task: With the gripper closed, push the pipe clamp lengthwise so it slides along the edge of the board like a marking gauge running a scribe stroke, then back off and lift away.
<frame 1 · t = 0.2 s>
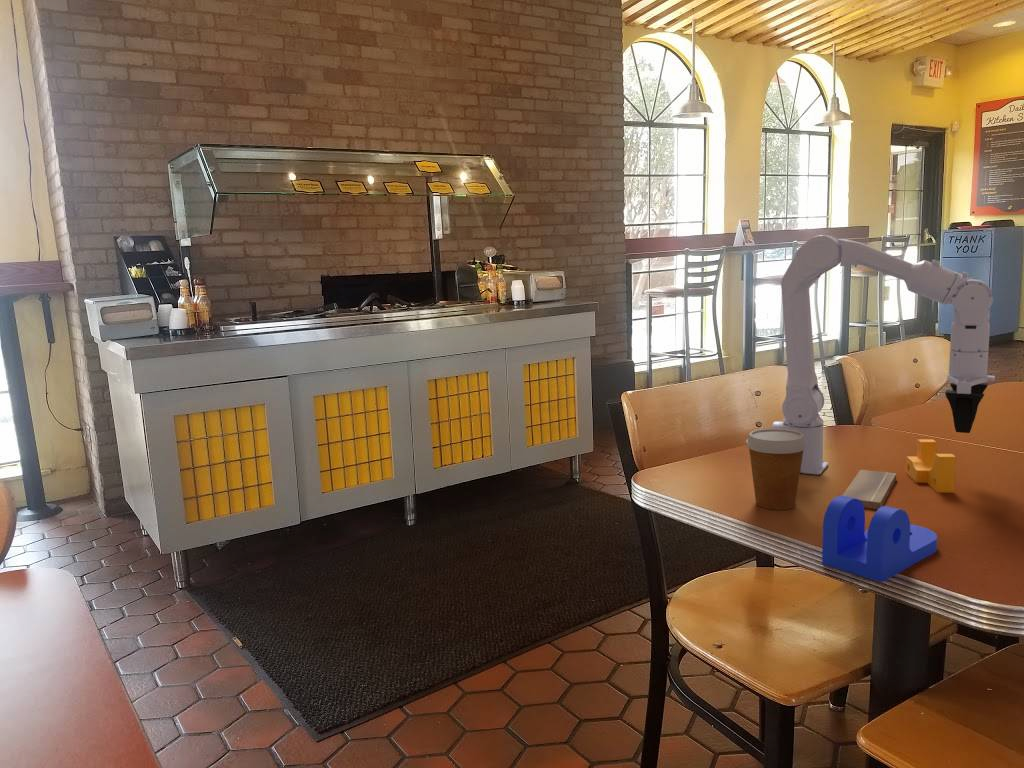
hand: (964, 427, 137), 10 cm above the table, tool pointing down, fingers open, 7 cm apart
board: (869, 491, 136), on the table
disposable coffee cup: (775, 505, 132), on the table
bracket: (885, 557, 109), on the table
pipe clamp: (928, 484, 140), on the table
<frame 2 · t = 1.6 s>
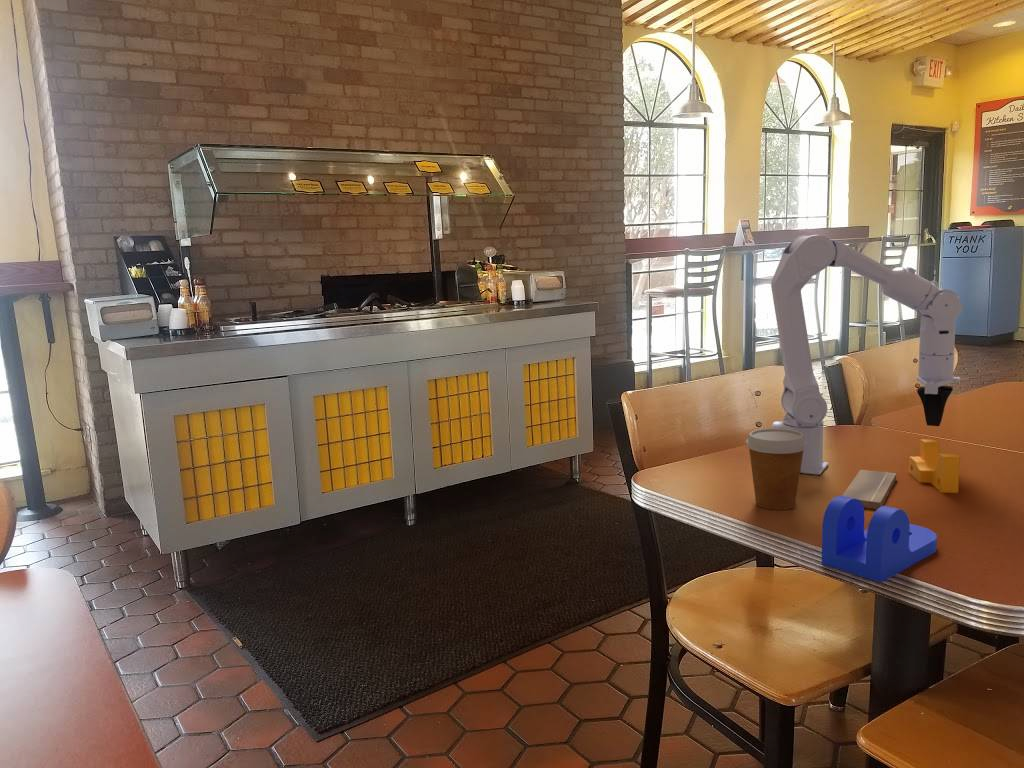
hand: (933, 425, 148), 8 cm above the table, tool pointing down, fingers closed
nothing on the table moved.
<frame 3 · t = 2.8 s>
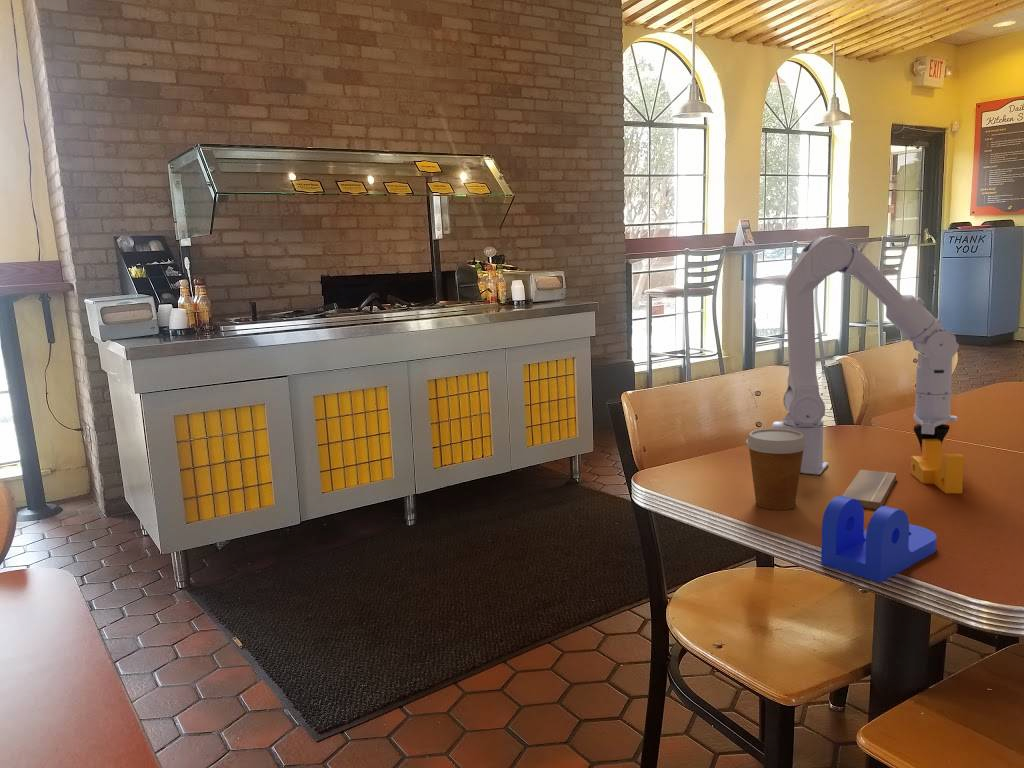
hand: (930, 463, 147), 1 cm above the table, tool pointing down, fingers closed
pipe clamp: (935, 483, 139), on the table, touching gripper
everything else where it was.
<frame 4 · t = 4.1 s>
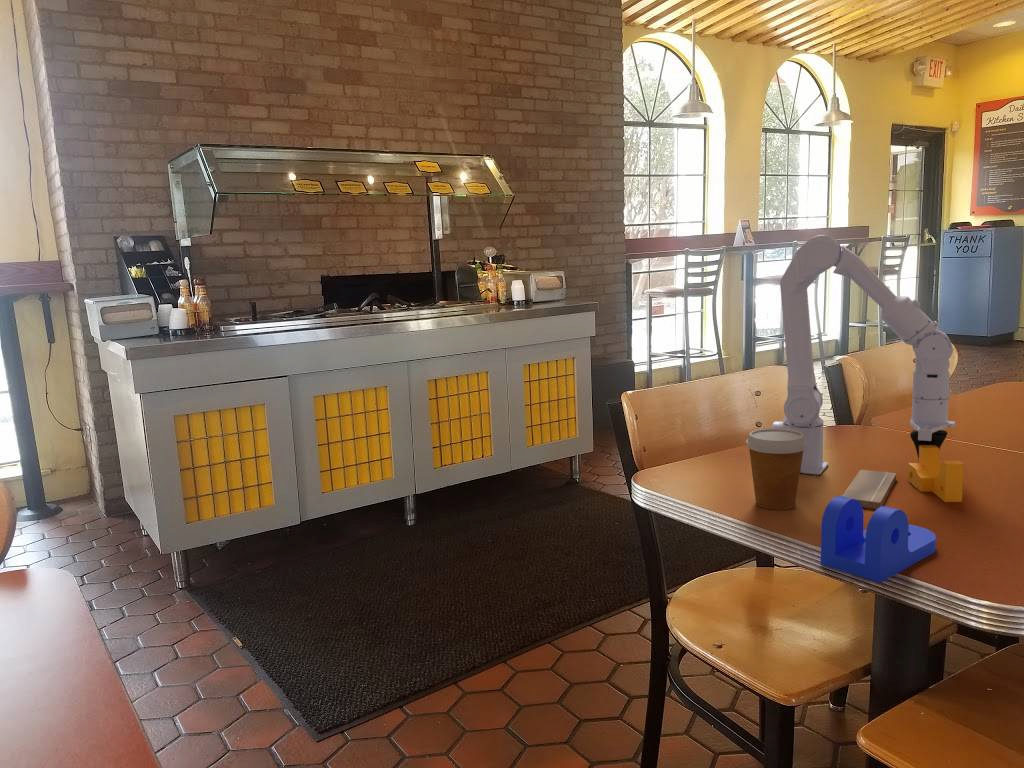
hand: (927, 470, 142), 1 cm above the table, tool pointing down, fingers closed
pipe clamp: (933, 491, 135), on the table, touching gripper
everything else where it was.
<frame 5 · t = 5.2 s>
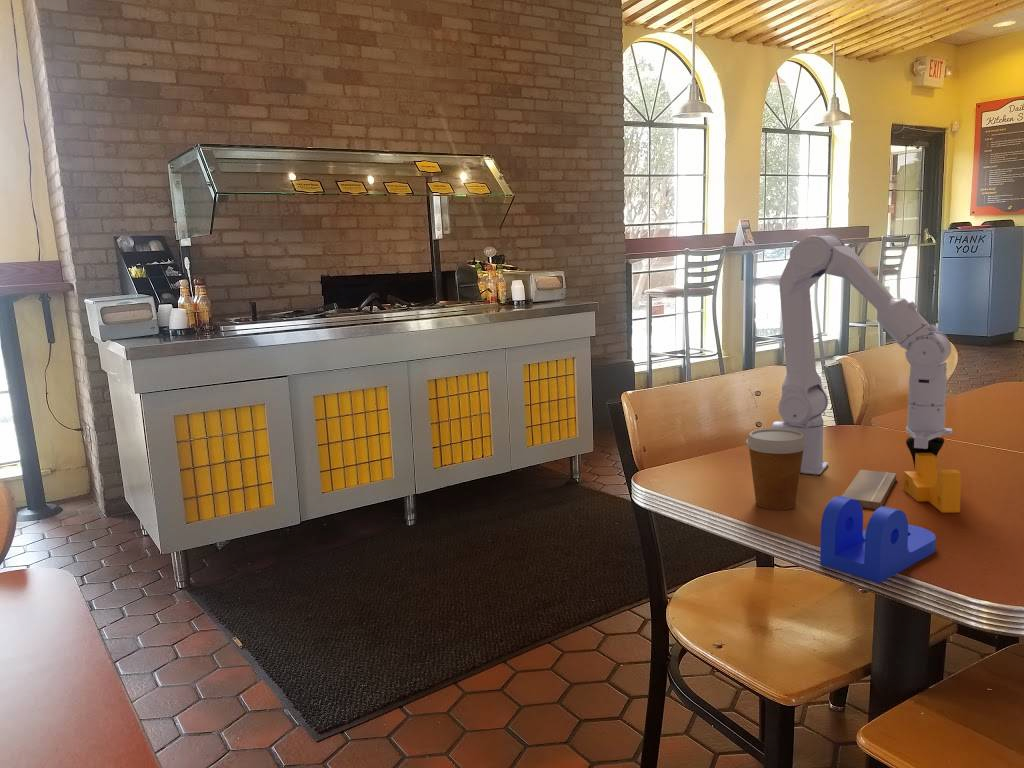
hand: (923, 479, 138), 1 cm above the table, tool pointing down, fingers closed
pipe clamp: (930, 501, 130), on the table, touching gripper
everything else where it was.
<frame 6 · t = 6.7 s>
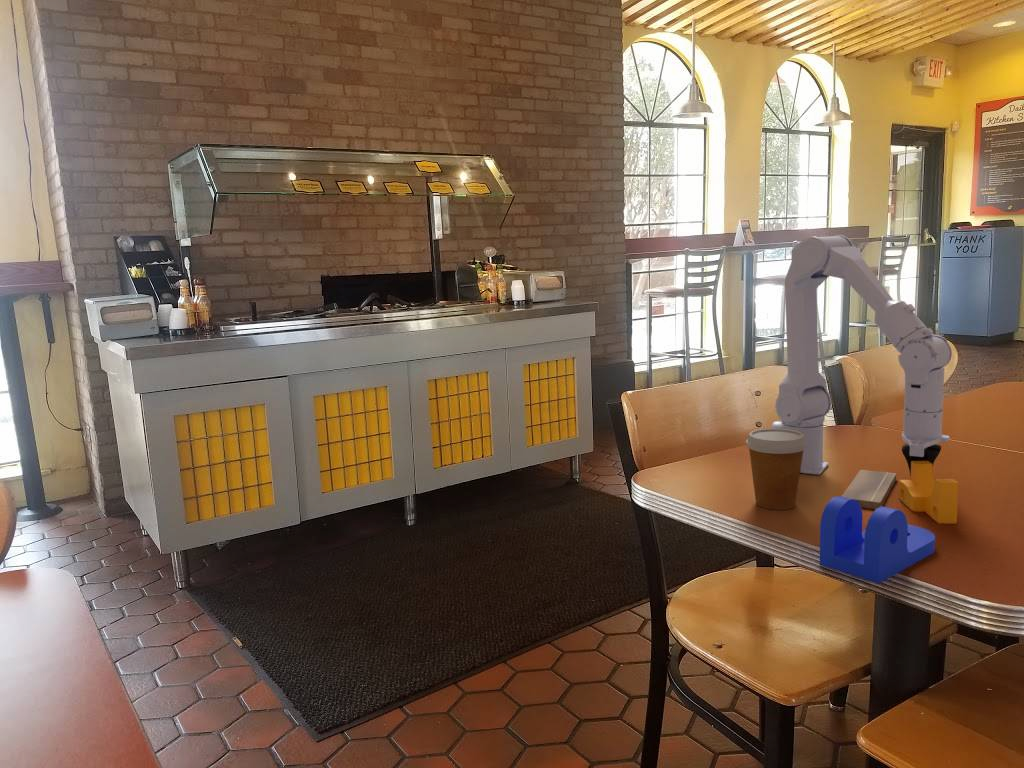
hand: (919, 487, 133), 1 cm above the table, tool pointing down, fingers closed
pipe clamp: (926, 511, 126), on the table, touching gripper
everything else where it was.
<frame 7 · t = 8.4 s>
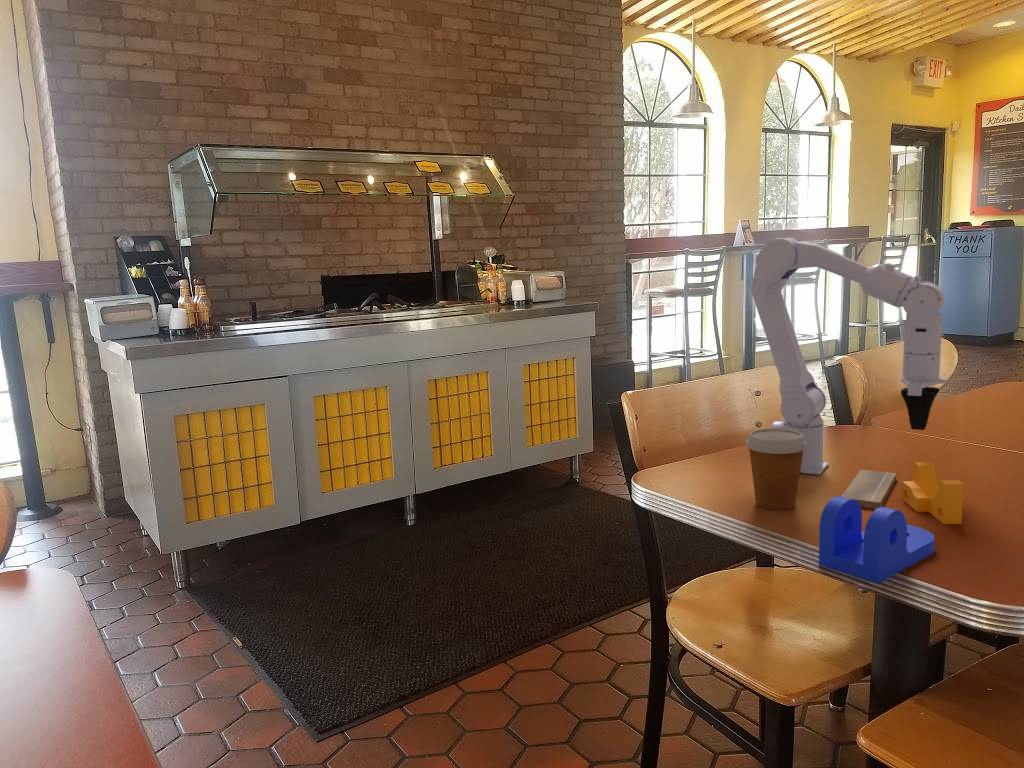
hand: (918, 428, 139), 10 cm above the table, tool pointing down, fingers closed
pipe clamp: (930, 512, 126), on the table
everything else where it was.
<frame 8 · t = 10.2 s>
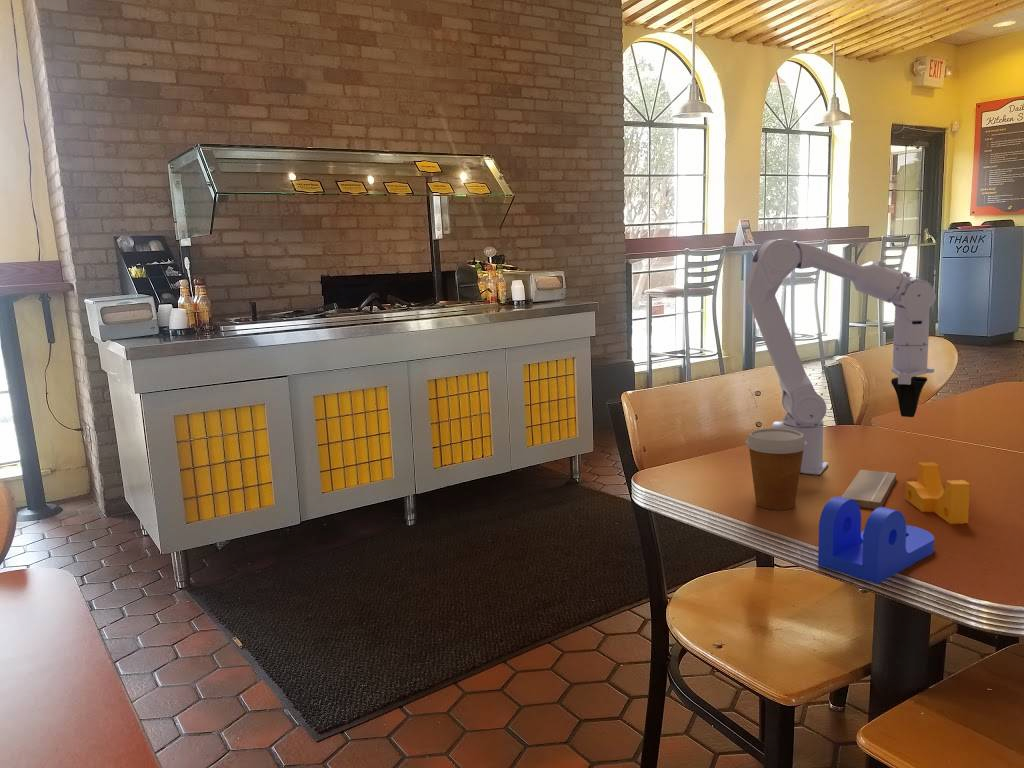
hand: (907, 416, 147), 10 cm above the table, tool pointing down, fingers closed
nothing on the table moved.
at the end: pipe clamp inside the target area (2.1 cm from its centre), on the table; pipe clamp tilted 0°; pipe clamp moved 16.0 cm from its start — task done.
